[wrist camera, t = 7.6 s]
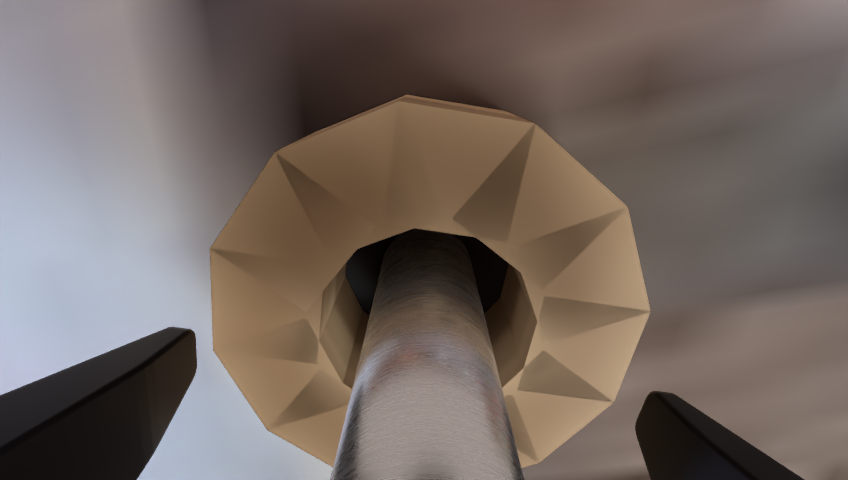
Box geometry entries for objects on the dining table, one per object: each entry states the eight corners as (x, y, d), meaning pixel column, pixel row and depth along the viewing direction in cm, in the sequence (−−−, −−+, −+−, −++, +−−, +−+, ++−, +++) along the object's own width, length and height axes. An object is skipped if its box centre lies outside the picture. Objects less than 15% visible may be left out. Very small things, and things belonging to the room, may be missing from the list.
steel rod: (462, 312, 14) (518, 684, 5) (377, 301, 14) (297, 663, 5) (479, 233, 13) (583, 537, 4) (388, 220, 13) (311, 507, 4)
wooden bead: (541, 411, 15) (572, 503, 12) (263, 376, 15) (216, 461, 11) (633, 132, 12) (715, 152, 8) (269, 71, 11) (203, 69, 8)
